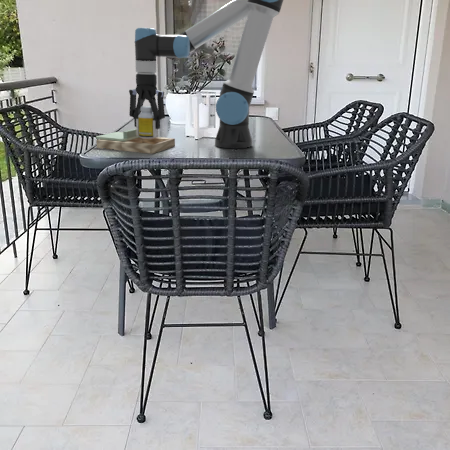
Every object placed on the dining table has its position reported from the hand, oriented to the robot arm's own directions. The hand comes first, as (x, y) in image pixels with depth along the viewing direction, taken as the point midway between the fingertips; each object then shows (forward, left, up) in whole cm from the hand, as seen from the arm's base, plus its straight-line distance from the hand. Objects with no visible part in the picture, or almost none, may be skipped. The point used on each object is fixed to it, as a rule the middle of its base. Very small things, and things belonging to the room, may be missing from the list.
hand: (147, 136), depth 182 cm
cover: (+12, 0, -1) cm, 12 cm away
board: (+5, 0, -4) cm, 7 cm away
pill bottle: (0, 0, -1) cm, 1 cm away
